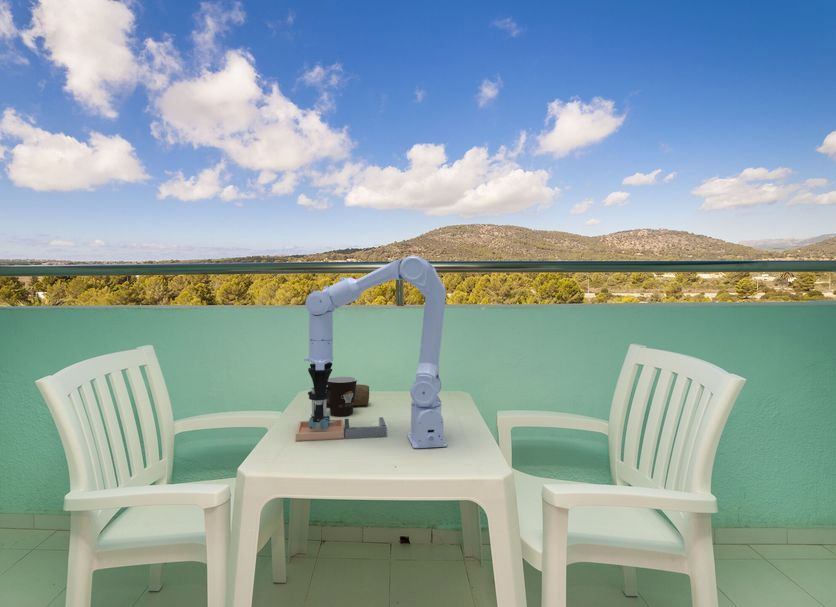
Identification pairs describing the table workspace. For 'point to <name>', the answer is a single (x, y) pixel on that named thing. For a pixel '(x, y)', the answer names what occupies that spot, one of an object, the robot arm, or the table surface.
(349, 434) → the bracket
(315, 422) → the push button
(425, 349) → the robot arm
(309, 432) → the tray
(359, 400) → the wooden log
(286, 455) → the table surface
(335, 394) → the coffee mug
